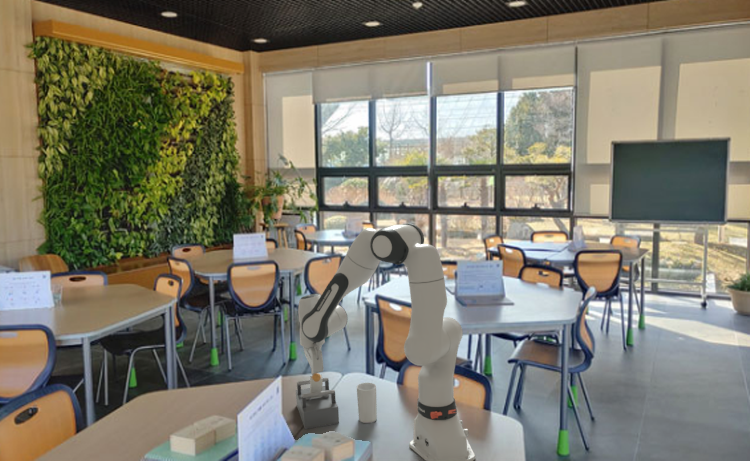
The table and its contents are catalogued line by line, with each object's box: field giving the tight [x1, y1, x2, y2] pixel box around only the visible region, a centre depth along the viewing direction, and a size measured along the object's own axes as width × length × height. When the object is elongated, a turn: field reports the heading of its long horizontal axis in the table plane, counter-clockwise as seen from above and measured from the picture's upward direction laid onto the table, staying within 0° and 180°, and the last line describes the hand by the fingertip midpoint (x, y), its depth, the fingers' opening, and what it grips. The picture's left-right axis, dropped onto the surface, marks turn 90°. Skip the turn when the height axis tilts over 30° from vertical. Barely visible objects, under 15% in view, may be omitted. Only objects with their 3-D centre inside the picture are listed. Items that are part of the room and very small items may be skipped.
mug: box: [356, 382, 378, 424], centre depth 199 cm, size 10×7×12 cm, turn 169°
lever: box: [309, 372, 324, 398], centre depth 201 cm, size 3×4×11 cm
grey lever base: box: [295, 377, 340, 430], centre depth 203 cm, size 20×12×11 cm, turn 16°
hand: (314, 375), depth 203 cm, fingers closed
